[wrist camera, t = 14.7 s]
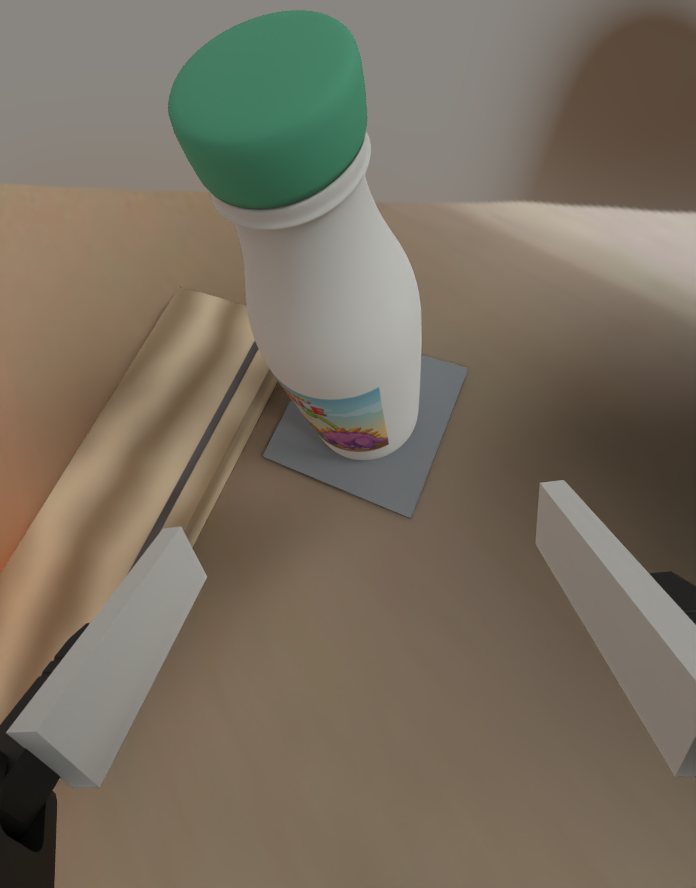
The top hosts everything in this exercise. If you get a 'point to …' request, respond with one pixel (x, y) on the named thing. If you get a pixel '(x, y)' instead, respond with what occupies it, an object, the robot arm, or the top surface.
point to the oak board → (134, 478)
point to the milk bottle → (307, 222)
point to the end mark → (383, 478)
